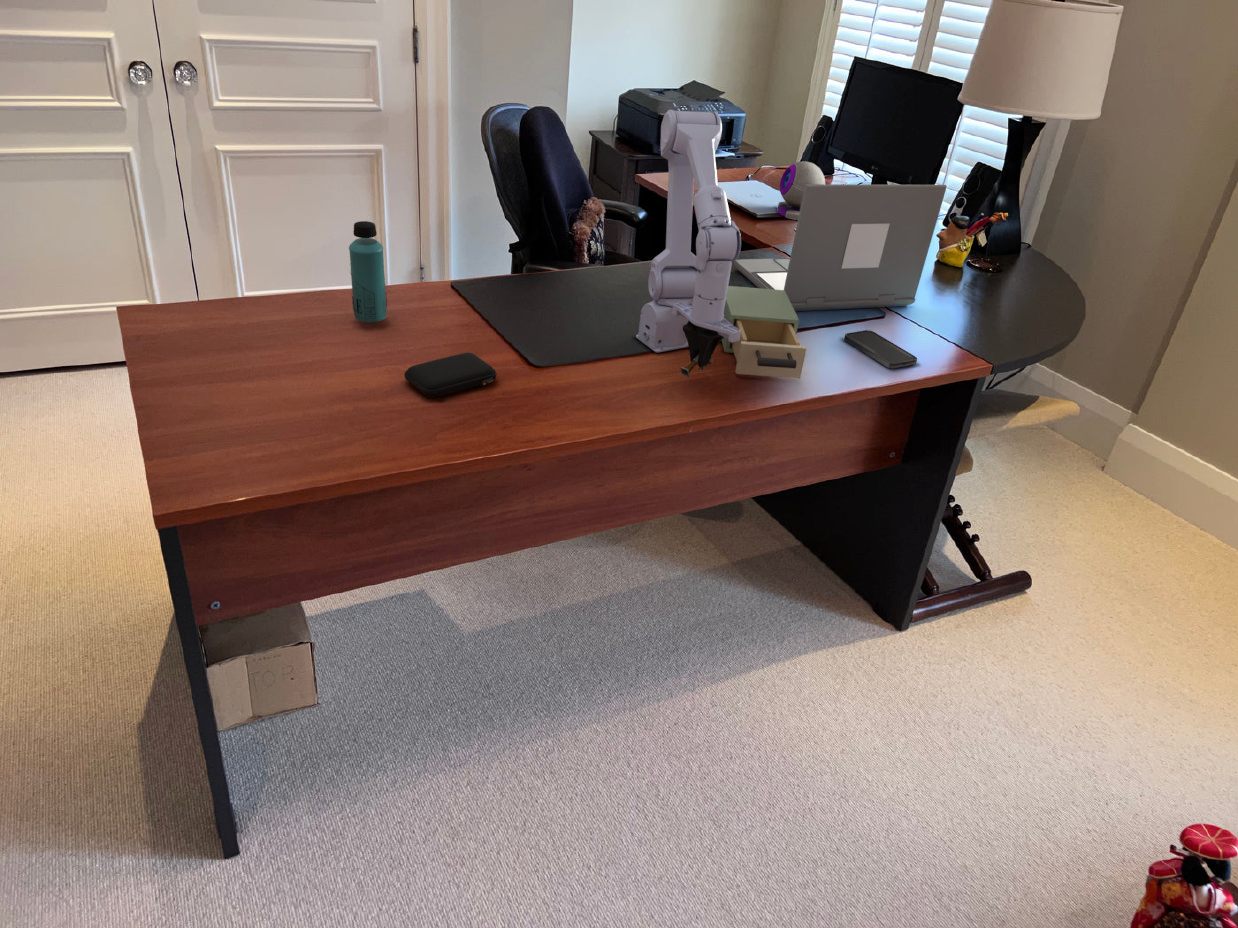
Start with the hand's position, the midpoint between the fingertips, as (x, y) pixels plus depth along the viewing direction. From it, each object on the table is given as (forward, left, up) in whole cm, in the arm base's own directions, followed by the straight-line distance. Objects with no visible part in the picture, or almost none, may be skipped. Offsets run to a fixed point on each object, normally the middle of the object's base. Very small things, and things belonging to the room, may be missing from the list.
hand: (699, 363), depth 166 cm
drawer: (+16, 0, -3) cm, 17 cm away
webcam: (+93, +78, -5) cm, 122 cm away
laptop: (+58, +29, -5) cm, 66 cm away
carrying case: (-42, +16, -5) cm, 45 cm away
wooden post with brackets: (0, 0, -2) cm, 2 cm away
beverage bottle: (-47, +45, -5) cm, 65 cm away
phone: (+45, -3, -4) cm, 46 cm away
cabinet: (+23, +12, -4) cm, 27 cm away
